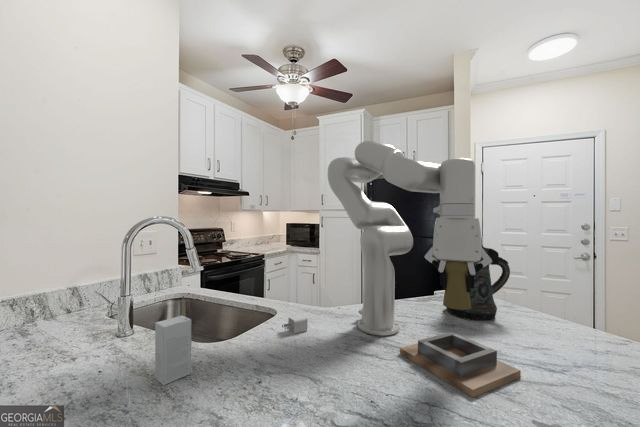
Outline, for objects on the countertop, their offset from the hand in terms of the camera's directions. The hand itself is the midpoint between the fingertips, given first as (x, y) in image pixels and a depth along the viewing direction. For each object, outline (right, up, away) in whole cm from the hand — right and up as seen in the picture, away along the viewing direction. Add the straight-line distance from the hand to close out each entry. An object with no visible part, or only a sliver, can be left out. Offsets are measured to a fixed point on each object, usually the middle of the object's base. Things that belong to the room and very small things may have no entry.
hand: (456, 289), depth 70 cm
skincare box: (-64, -17, -6) cm, 66 cm away
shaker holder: (0, -18, 0) cm, 18 cm away
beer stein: (+23, -18, +37) cm, 47 cm away
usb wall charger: (-40, -18, +19) cm, 48 cm away
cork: (0, -4, 0) cm, 4 cm away
